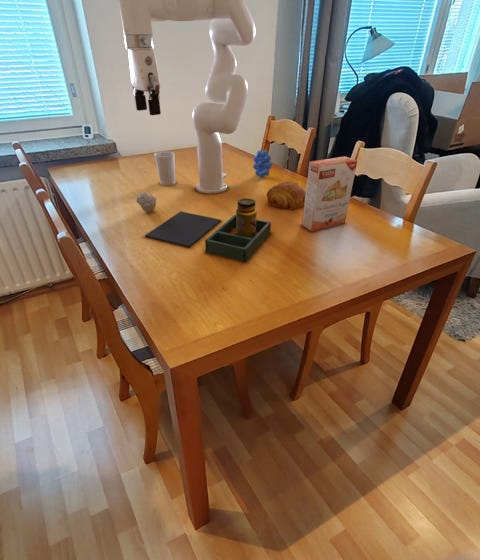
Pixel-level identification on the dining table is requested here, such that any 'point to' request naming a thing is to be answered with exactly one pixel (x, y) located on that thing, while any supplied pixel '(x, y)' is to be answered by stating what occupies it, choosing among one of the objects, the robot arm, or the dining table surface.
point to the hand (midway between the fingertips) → (148, 112)
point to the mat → (183, 229)
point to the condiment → (246, 218)
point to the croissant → (286, 195)
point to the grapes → (262, 163)
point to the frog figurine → (146, 202)
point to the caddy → (236, 241)
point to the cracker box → (328, 192)
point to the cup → (166, 167)
